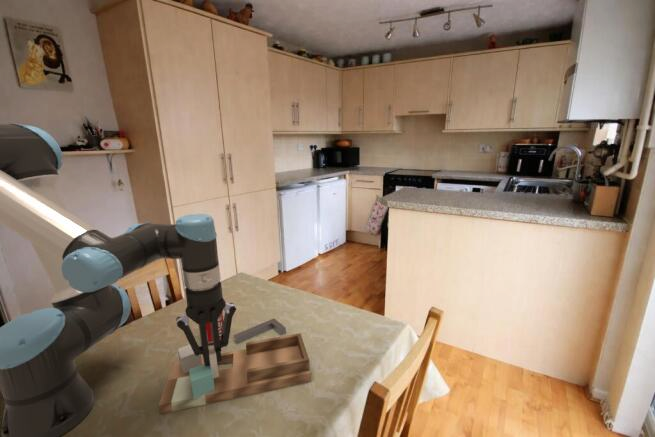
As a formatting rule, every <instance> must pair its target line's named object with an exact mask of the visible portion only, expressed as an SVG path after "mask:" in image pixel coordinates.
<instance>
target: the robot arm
mask: <svg viewBox="0 0 655 437" xmlns="http://www.w3.org/2000/svg"><path fill="white" fill-rule="evenodd" d="M63 156H64V155H63V152H62V150H61V147H60V146H59V144H58V142H57V141H56V140H55V138H54V137H53V136H52V135H51V134H49V133H48V131H45V130H43V129H41V128H39V127H37V126H34V125H28V124H27V125H25V124H20V123H0V224H1V225H2V226H4V227H6V228H7V229H8V230H10V231H12V232H14V233H15V234H17V235H18V236H20V237H21V238H23V239H25V240H26V241H28V242H30V245H31V247H32V248H33V250H34V253H35V254H36V256H37V258H38V260H39V262H40V264H41V266H42V269H43V271H44V272H45V274H46V276H47V278H48V280H49V281H50V284H51V286H52V288H53V290H54V295H53V296H52V298H51V300H50V303H51V305H52V307H47V308H45V307H44V308H41V309H36V310H34V311H32V312H30V313H27V312H26V313H24V314H21V315H19V316H17V317H15V318H13V319H11V320H10V321H8V322H6V323H5V324H4V325H2V326H0V392H1V394H2V397H3V399H4V403H5V406H4V411H3V416H2V422H1V428H0V432H1V433H0V435H1V437H61V436H62V435H64V434H66V433H67V432H69V431H70V430H72V429H74V428H75V427H76V426H77V425H79V424H80V423H81V421H83V420H84V419H85V418H86V417H87V415H89V413H90V412H91V410H92V408H93V406H94V403H95V395H94V391H93V388H92V387H91V386H90V384H88V383H87V382H86V380H85V379H84V378H83V376H82V375H81V374H80V373H79V372H78V367H77V365H76V364H77V363H76V361H75V360H76V358H78V357H79V356H80V355H82V354H83V353H85V352H86V351H88V350H90V349H91V347H93V346H95V345H96V344H98V343H99V342H101V341H102V340H103V339H104V338H106V337H107V336H109V335H111V334H113V333H115V332H116V331H117V330H118V328H120V327H121V326H123V325H124V324H125V322H126V321H128V318H129V316H130V313H131V308H132V304H131V299H130V297H129V295H128V293H127V291H126V290H125V289H124V288H121V286H120V285H118V284H116V283H117V282H119V280H122V279H123V278H125V277H126V276H128V275H130V274H132V273H134V272H135V271H138V270H140V269H143V268H144V267H147V266H148V265H150V264H152V263H154V262H156V261H157V260H158V261H159V260H160V259H162V260H163V259H166V260H167V259H169V260H180V263H181V269H182V270H181V271H182V277H183V279H182V280H183V284H184V287H185V289H184V291H185V298H186V307H185V313H184V314H182V315H181V316H178V317H176V319H175V321H176V326H177V327H178V329H180V330H182V332H183V334H184V335H185V337H186V340H187V341H188V345H190V346H191V348H192V350H193V352H194V354H195V355H196V356H198V355H200V354H201V356H202V357H203V359H204V364H205V366H209V365H210V367H211V370H212V373H213V379H214V378H216V377H219V374H218V370H219V367H218V366H219V365H217V362H220V361H221V354H222V349H223V347H228V345H229V339H230V333H231V328H232V321H233V317H234V315H235V313H236V311H237V308H236V306H235V304H234V303H233V302H230V303H228V302H226V299H224V296H223V288H222V287H223V286H222V280H221V278H222V277H221V270H220V262H219V254H218V253H219V252H218V244H217V237H218V235H217V231H216V227H215V221H214V219H213V218H214V217H212V216H211V215H210V214H206V213H196V214H194V213H193V214H186V215H182V216H180V217H177V219H176V220H175V224H172V223H171V224H170V223H154V222H144V223H143V222H142V223H134V224H132V225H130V226H129V227H128V228H127V230H125V232H124V233H122V234H120V235H117V236H114V237H110V236H108V235H107V234H105V233H104V232H103V231H100V230H99V229H97V228H95V227H93V226H92V225H90V224H89V223H87V222H85V221H84V220H82V219H81V218H79V217H77V216H76V215H74V214H72V213H71V212H69V211H68V210H67V208H66V207H67V206H66V205H65V203H64V202H63V199H62V198H61V195H60V193H59V190H58V189H57V187H56V184H57V182H58V181H59V179H60V175H59V173H58V172H59V171H60V170H61V168H62V166H63V162H64V161H62V160H63V159H64V158H63ZM223 311H224V314H223V320H224V321H223V328H222V334H221V340H220V339H219V330H218V318H219V316H220V315H221V313H222V312H223ZM189 319H190V320H191V321H193V322H194V323H195V324H197V325H198V324H199V325H198V330H200V332H199V337H200V344H201V345H199V344H198V342H197V340H196V337H195V336H194V333H193V331H192V328H191V327H190V325H189V323H190V320H189ZM209 322H211V330H212V338H213V343H212V345H213V346H211V347H209V344H208V340H207V331H206V324H207V323H209Z"/></svg>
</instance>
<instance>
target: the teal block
mask: <svg viewBox="0 0 655 437" xmlns="http://www.w3.org/2000/svg"><path fill="white" fill-rule="evenodd" d="M189 374H190V381H191V387H192V392H193V397H194V398H197V397H200V396H202V395H205V394H207V393H210V392H212V391H215V388H214V380H213V373H212V370H211V367H210V365H209V366H205V364H203V365H200V366H197V367H194V368H191V369H189Z"/></svg>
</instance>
